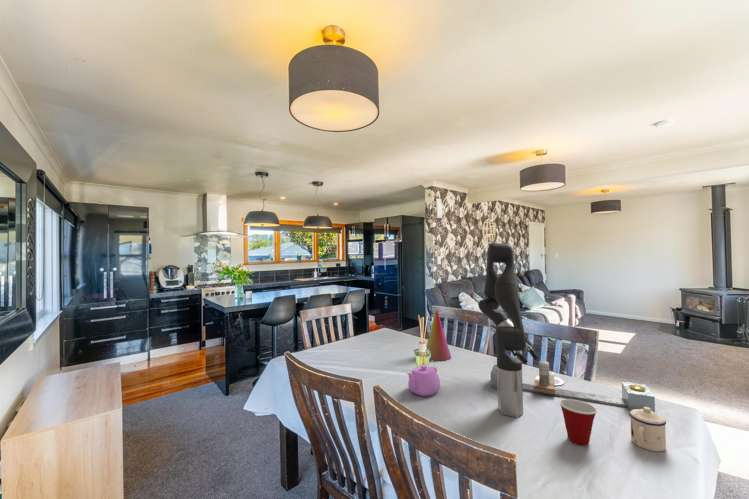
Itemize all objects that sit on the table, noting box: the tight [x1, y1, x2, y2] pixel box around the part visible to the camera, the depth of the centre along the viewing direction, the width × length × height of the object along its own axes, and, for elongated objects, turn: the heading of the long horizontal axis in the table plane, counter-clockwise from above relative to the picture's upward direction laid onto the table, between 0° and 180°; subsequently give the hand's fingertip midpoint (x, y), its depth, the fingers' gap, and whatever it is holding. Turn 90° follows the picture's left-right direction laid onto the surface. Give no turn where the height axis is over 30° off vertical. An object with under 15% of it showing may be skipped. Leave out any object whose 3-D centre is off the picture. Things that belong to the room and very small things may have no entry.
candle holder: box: [534, 370, 564, 386], centre depth 157 cm, size 12×12×4 cm
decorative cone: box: [426, 306, 452, 362], centre depth 196 cm, size 16×16×30 cm
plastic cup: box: [558, 398, 598, 447], centre depth 108 cm, size 11×11×12 cm
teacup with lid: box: [629, 407, 667, 452], centre depth 105 cm, size 12×9×12 cm
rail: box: [490, 364, 656, 413], centre depth 142 cm, size 12×59×8 cm, turn 62°
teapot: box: [406, 364, 441, 397], centre depth 148 cm, size 20×13×12 cm, turn 131°
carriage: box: [533, 360, 556, 394], centre depth 146 cm, size 9×8×12 cm
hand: (531, 361), depth 150 cm, fingers open, 8 cm apart
